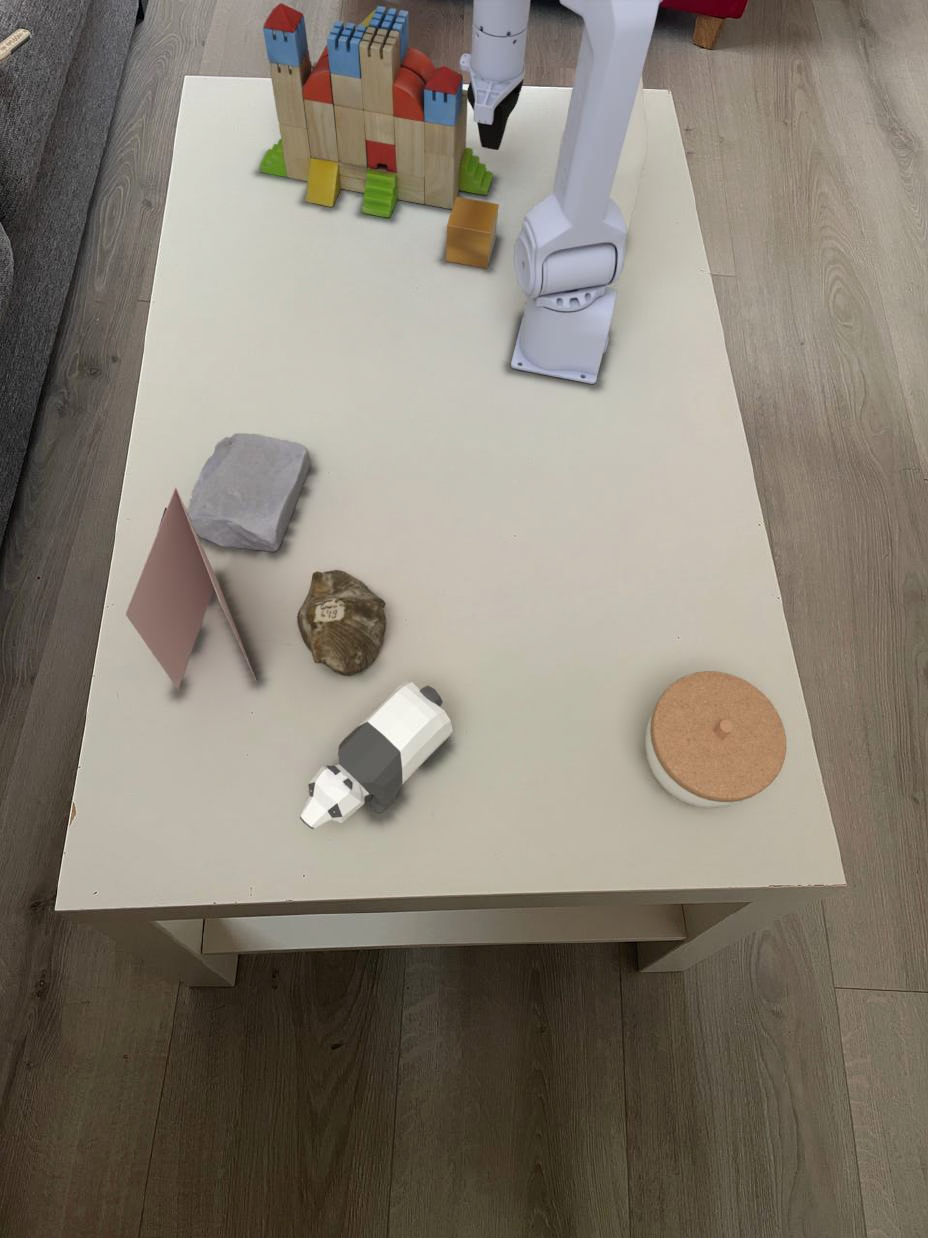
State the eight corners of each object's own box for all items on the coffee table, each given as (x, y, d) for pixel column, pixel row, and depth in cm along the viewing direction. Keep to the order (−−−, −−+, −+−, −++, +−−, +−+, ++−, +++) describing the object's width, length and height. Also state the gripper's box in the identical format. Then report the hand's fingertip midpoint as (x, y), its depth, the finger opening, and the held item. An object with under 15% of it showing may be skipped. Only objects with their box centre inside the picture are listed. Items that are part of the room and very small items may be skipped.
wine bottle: (530, 232, 103) (568, -51, 76) (584, 199, 106) (639, -85, 80) (586, 276, 101) (646, -3, 74) (640, 240, 104) (716, -40, 77)
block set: (498, 161, 109) (512, -4, 92) (473, 235, 103) (483, 72, 85) (286, 121, 111) (261, -49, 93) (249, 191, 104) (215, 23, 87)
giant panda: (412, 698, 76) (411, 655, 68) (458, 738, 75) (463, 699, 66) (291, 819, 71) (273, 788, 62) (338, 865, 69) (325, 840, 61)
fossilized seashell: (304, 562, 79) (277, 665, 76) (332, 545, 73) (304, 656, 71) (375, 588, 82) (352, 688, 80) (407, 575, 77) (383, 681, 74)
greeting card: (207, 577, 81) (164, 485, 67) (284, 591, 80) (256, 500, 67) (168, 688, 76) (113, 612, 62) (250, 703, 75) (212, 629, 62)
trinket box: (622, 707, 77) (646, 666, 68) (738, 700, 77) (776, 658, 69) (643, 827, 72) (672, 799, 63) (766, 817, 73) (811, 788, 64)
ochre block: (495, 240, 103) (498, 203, 98) (487, 268, 100) (490, 232, 96) (455, 232, 103) (456, 195, 98) (445, 261, 101) (446, 224, 96)
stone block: (192, 549, 84) (285, 558, 82) (170, 520, 80) (268, 528, 77) (232, 457, 89) (321, 463, 87) (214, 425, 85) (306, 430, 83)
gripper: (476, -25, 91) (470, 101, 103) (446, 55, 85) (443, 178, 97) (541, -14, 91) (527, 111, 103) (516, 67, 84) (504, 189, 96)
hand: (491, 144), depth 100 cm, fingers closed
